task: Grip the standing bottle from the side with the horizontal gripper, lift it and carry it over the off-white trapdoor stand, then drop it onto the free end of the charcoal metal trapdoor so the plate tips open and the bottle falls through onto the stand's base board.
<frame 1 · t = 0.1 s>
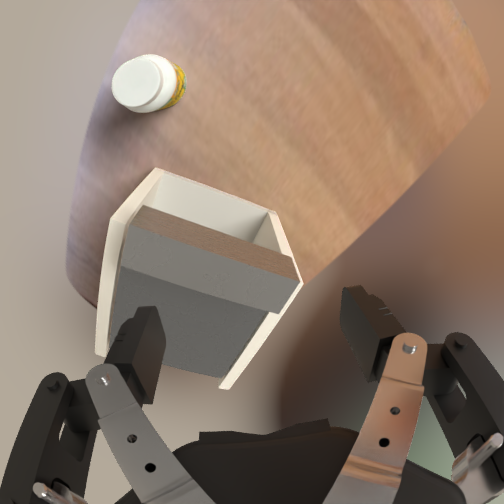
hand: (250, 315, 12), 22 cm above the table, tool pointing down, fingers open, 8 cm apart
trapdoor: (184, 320, 22), point 15 cm above the table, hinge at 0.0°
supplement bottle: (163, 85, 25), on the table
trapdoor stand: (193, 246, 35), on the table
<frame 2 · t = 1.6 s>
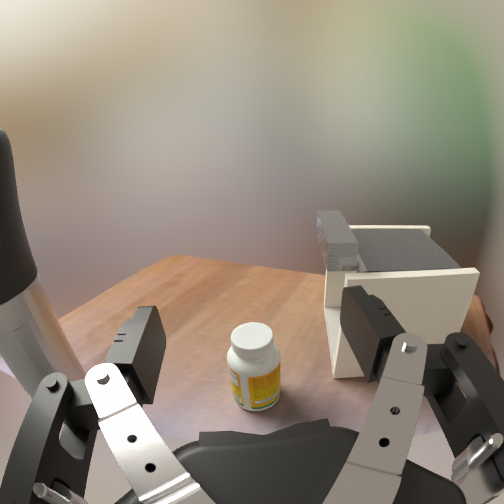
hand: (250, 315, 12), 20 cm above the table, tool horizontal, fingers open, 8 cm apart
trapdoor: (385, 239, 31), point 15 cm above the table, hinge at 0.0°
supplement bottle: (257, 395, 30), on the table
trapdoor stand: (381, 335, 37), on the table
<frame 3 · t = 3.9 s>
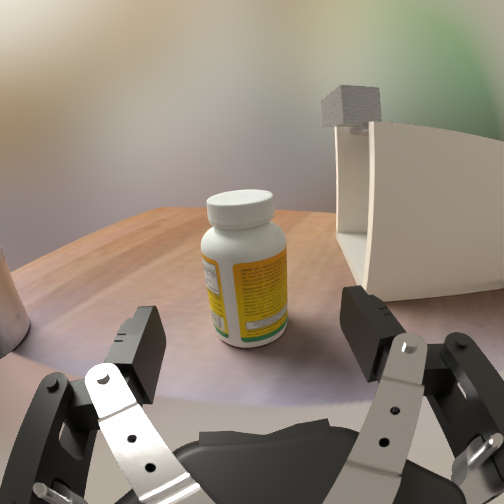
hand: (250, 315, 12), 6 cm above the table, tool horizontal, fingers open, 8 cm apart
trapdoor: (407, 119, 22), point 15 cm above the table, hinge at 0.0°
supplement bottle: (251, 328, 21), on the table
trapdoor stand: (414, 260, 27), on the table
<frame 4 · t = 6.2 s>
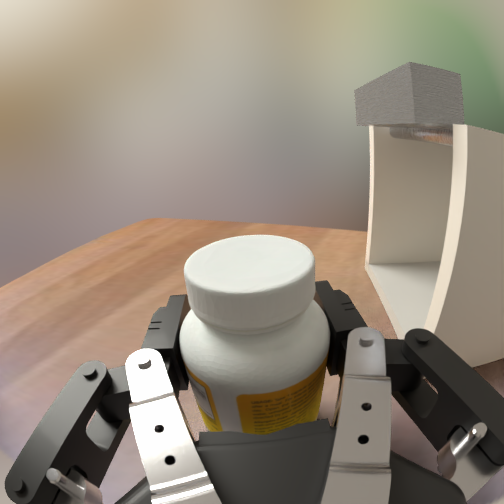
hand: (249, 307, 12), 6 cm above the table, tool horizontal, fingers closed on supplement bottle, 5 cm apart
trapdoor: (471, 123, 14), point 15 cm above the table, hinge at 0.0°
supplement bottle: (263, 428, 13), on the table, touching gripper
trapdoor stand: (463, 302, 19), on the table
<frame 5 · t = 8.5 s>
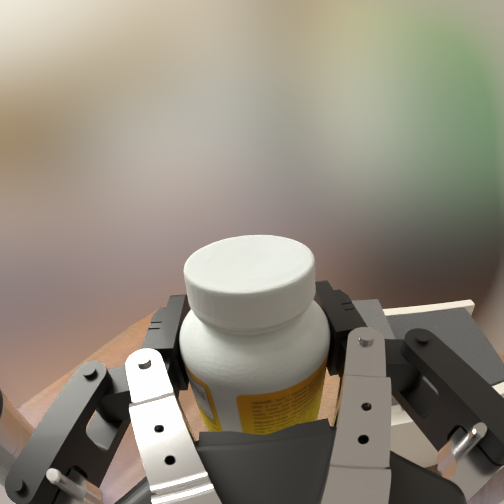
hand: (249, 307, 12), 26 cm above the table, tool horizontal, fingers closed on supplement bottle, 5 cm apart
trapdoor: (433, 344, 21), point 15 cm above the table, hinge at 0.0°
supplement bottle: (263, 429, 13), point 19 cm above the table, touching gripper
trapdoor stand: (407, 423, 27), on the table
when the fingers open (23 cm above the table, at t = 11.1 s): supplement bottle drops 4 cm, resting on trapdoor.
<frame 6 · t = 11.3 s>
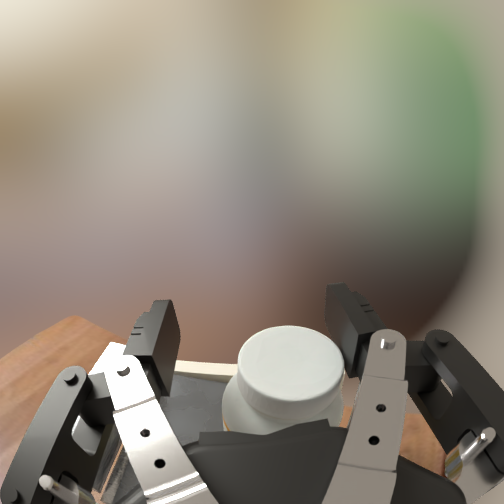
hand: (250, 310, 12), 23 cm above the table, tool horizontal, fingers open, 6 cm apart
trapdoor: (193, 441, 14), point 14 cm above the table, hinge at -6.6°, touching supplement bottle
supplement bottle: (271, 460, 14), point 13 cm above the table, touching gripper, trapdoor
trapdoor stand: (244, 500, 20), on the table
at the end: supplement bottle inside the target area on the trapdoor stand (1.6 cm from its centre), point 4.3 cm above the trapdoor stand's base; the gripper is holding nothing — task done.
